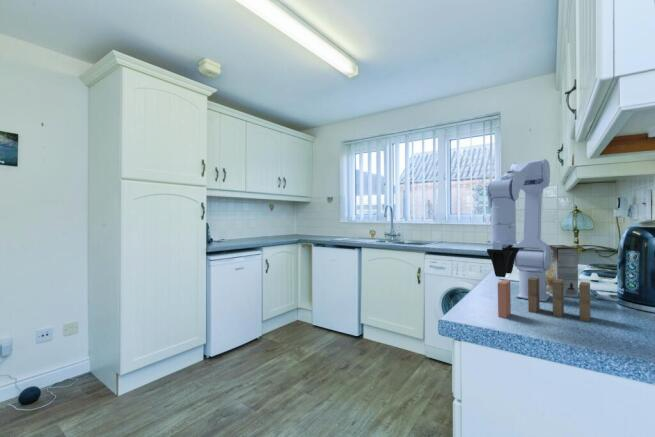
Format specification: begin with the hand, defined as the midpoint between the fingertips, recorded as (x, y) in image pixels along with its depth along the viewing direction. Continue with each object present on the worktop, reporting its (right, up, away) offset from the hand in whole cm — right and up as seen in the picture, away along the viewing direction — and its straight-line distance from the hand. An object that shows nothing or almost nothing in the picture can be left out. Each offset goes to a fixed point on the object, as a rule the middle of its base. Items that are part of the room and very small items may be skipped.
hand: (503, 274), depth 82 cm
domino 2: (+11, -11, +4) cm, 16 cm away
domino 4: (+19, -11, -4) cm, 22 cm away
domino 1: (0, -11, 0) cm, 11 cm away
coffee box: (+32, -10, +21) cm, 40 cm away
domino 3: (+15, -11, 0) cm, 18 cm away
